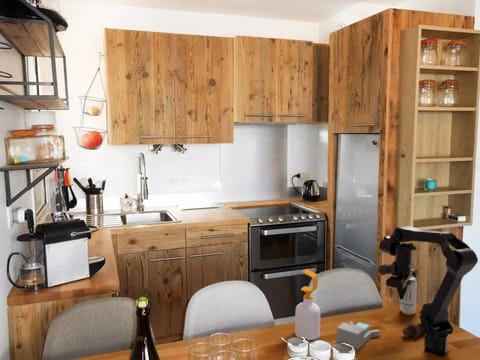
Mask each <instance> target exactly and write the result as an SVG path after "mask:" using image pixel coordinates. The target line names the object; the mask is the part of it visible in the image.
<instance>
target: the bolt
mask: <svg viewBox="0 0 480 360" xmlns="http://www.w3.org/2000/svg"><path fill="white" fill-rule="evenodd" d="M436 328H438V327H436ZM422 333H423V330H422V325H421V322H419V323H414V322H411V323H409V324H408V325H407V327H404V328H403V329H402V334H403V335H404V337H406V338H409V337H414V338H417V337H419V336H420V335H421V334H422Z"/></svg>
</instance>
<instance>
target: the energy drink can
mask: <svg viewBox="0 0 480 360" xmlns="http://www.w3.org/2000/svg"><path fill="white" fill-rule="evenodd" d="M409 280H412V281H413V283H412V284H411V286H410V288H409V290H408V291H407V293H406V295H405V297H404V299H403V300H401V299H400V311H401V313H402V314H404V315H407V316H413V315H415V313H416V311H417V310H416V309H417V290H418V282H417V278H414V276H413V275H412V276H411V277H409Z"/></svg>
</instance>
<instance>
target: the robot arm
mask: <svg viewBox="0 0 480 360" xmlns="http://www.w3.org/2000/svg"><path fill="white" fill-rule="evenodd" d="M407 242H410V243H407ZM412 242H421V243H422V242H423V243H430V244H431V243H433V244H438V245H439V246H440V250H441V253H442V255H443V256H444V258H445V259H446V261H445V266H446V273H445V275H444V277H443V279H442V280H441V283H440V285H439V287H438V289H437V292H436V293H435V296H434V298H433V300H432V302H427V303H423V305H422V307H421V310H420V311H419V313H420V314H419V321H420V323H421V325H422V330H423V332H422V333H423V334H424V340H423V341H424V344H423V346H424V349H423V351H425V352H427V353H430V354H434V355H437V356H439V357H443V358H445V357H446V355H447V353H448V352H449V350H450V349H449V347H448V346H449V335H452V334H453V332H454V331H455V329H454V328H453V326H452V324H451V322H450V321H449V316H450V315H449V311H448V309H449V306H450V304H451V302H452V300H453V299H454V296H455V294H456V292H457V290H458V288H459V286H460V284H461V282H462V280H463V279H464V277H465V276H466V275H467V274H468V273H469V272H471V271H472V270H473V269H474V267H475V266H476V265H477V263H478V260H479V259H478V256H477V254H476V252H475V251H474V250H473V249H471V247H470V246H469V245H468V244H467V243H466V242H464V241H462V240H461V239H459V238H458V237H457V235H456V234H454V233H453V232H451V231H434V230H423V229H422V230H421V229H419V228H417V227H415V226H412V225H406V226H398V227H395V228H394V230H393V232H392V234H391V235H390V236H389V235H384V236H383V239H382V240H381V241H380V243H379V244H378V249H379V251H380V252H381V253H383V254H386V255H388V256H392V257H395V259H394V261H393V262H392V263H387V264H386V263H385V264H380V265H379V266H378V273H380V275H381V276H384V275H390V274H391V276H389V278H387V279H385V286H386V287H390V288H396V290H397V294H398V297H399V300H400V301H401V300H403V299H404V297H405V295H406V293H407V291H408V290H409V288H410V286H411V284H412V283H413V281H412V280H409V277H411V276H412V277H414V278H416V279H417V278H418V277H419V271H418V269H416V268H413V267H412V266H413V265H414V262H413V261H412V254H413V251H416V250H417V249H418V248H417V247H416V246H415V245H414V244H413V243H412ZM450 246H451V247H452V248H454V250H453V249H452V248H451V247H450ZM436 327H438V328H436Z"/></svg>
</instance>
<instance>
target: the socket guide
mask: <svg viewBox="0 0 480 360" xmlns="http://www.w3.org/2000/svg"><path fill="white" fill-rule="evenodd" d="M355 325H356V324H355V323H354V322H353V321H349V323H347V322H342V323H341V324H339V325H338V326H337V328H336V343H337V344H339V343H346V344H349V345H351V346H353V347H354V348H355V349H354V348H353V349H354V350H357V351H358V350H359V349H360V348H361V347H362V346H364V345H365V344H366V343H367V342H368V341H369V340H370V339H371V338H378V337H381V331H380V330H379V329H373V330H370V329H369V331H368V332H367V333H366V334H364V329H363V328H360V327H357V326H355Z"/></svg>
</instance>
